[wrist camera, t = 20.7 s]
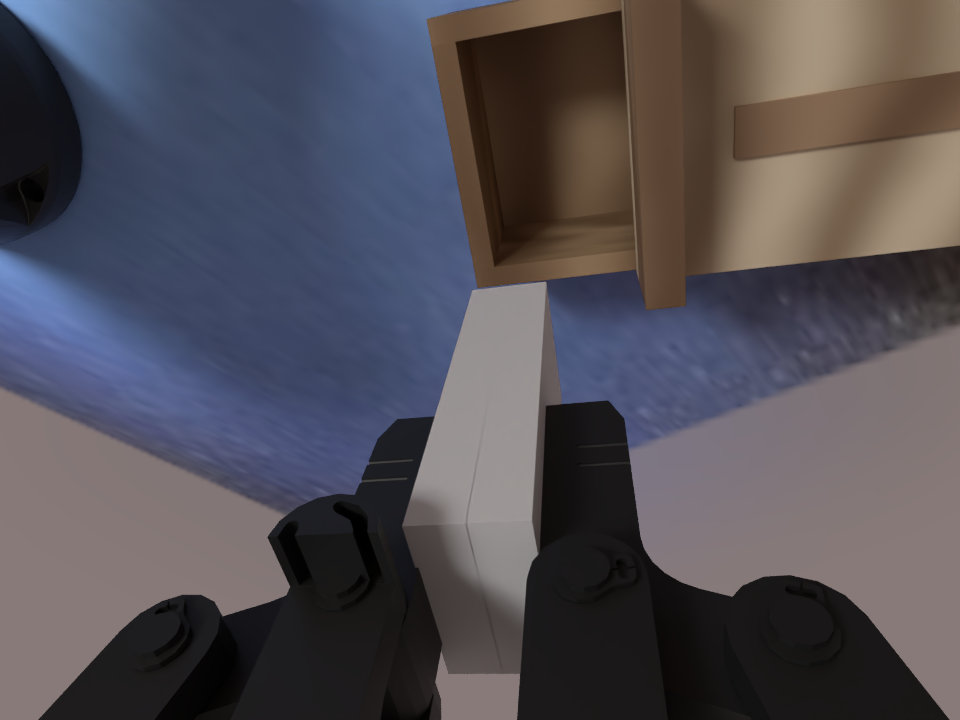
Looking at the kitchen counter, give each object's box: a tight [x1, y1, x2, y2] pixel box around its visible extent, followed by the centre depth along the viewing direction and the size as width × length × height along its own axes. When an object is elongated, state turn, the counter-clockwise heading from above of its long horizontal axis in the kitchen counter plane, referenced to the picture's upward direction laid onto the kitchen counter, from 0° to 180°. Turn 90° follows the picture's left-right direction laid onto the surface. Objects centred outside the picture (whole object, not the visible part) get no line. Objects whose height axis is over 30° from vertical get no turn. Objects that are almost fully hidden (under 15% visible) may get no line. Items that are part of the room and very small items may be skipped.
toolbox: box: [427, 0, 636, 288], centre depth 30 cm, size 18×12×7 cm, turn 100°
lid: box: [621, 0, 960, 310], centre depth 24 cm, size 18×12×4 cm, turn 100°
